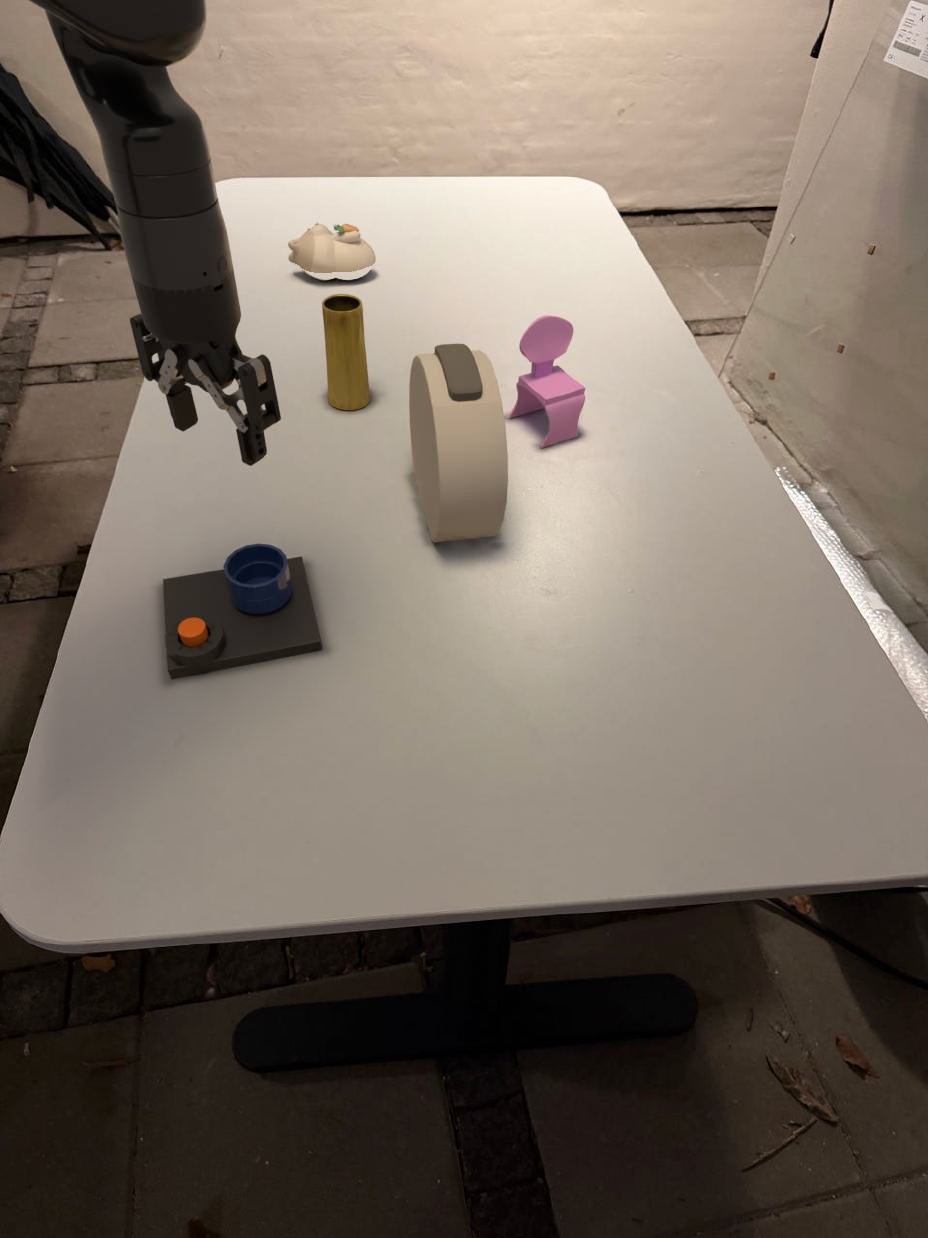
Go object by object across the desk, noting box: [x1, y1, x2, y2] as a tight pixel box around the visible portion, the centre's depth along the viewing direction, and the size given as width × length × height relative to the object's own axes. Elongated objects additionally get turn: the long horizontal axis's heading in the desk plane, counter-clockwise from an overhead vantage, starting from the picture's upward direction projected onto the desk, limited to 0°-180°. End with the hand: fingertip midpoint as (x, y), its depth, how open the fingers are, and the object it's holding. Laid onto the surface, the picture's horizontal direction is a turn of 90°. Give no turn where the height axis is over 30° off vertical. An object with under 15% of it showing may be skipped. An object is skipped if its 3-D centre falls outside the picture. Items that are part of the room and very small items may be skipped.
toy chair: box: [507, 315, 586, 449], centre depth 103 cm, size 8×9×15 cm
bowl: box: [222, 543, 293, 614], centre depth 81 cm, size 6×6×4 cm
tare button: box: [178, 618, 208, 647], centre depth 76 cm, size 3×3×2 cm
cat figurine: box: [287, 222, 376, 273], centre depth 134 cm, size 10×8×15 cm
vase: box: [321, 293, 372, 411], centre depth 106 cm, size 6×6×14 cm
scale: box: [162, 556, 323, 679], centre depth 81 cm, size 15×13×3 cm
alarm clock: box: [408, 343, 509, 543], centre depth 89 cm, size 21×8×20 cm, turn 12°
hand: (220, 443), depth 71 cm, fingers open, 8 cm apart
